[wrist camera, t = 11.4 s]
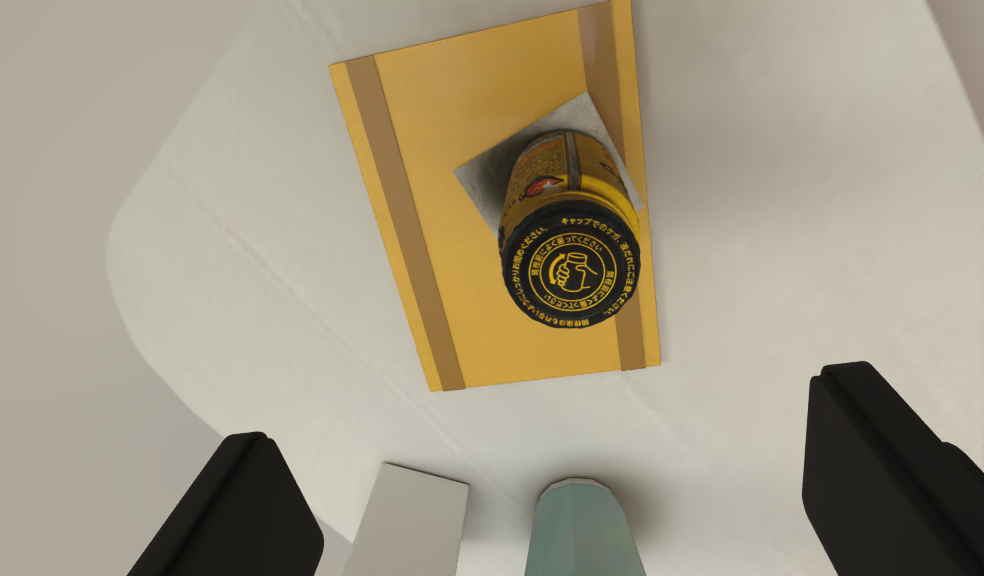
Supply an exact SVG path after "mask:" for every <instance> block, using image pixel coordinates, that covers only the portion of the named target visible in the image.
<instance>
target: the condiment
mask: <svg viewBox="0 0 984 576" xmlns="http://www.w3.org/2000/svg"><path fill="white" fill-rule="evenodd" d="M453 173H454V175H455V176H456V178H457V179H458V181H459V182H460V183H461V185H462V186H463V188H464V189H465V191H466V192H467V194H468V195H469V197H470V198H471V200H472V202H473V203H474V205H475V206H476V208H477V209H478V211H479V212H480V214H481V215H482V217H483V219H484V220H485V222H486V223H487V225H488V227H489V228H490V229H491V230H492V232H493V234H494V236H495V238H496V239H497V241H498V248H499V255H500V257H501V266H502V275H503V279H504V283H505V286H506V287H507V290H508V292H509V295H510V296H511V298H512V299H513V301H514V302H515V304H516V305H517V306H518V307H519V308H520V310H521V311H522V312H524V313H525V314H526V315H527V316H528V317H530V318H531V319H532V320H535V321H537V322H540V323H542V324H544V325H547V326H549V327H552V328H567V329H573V328H578V329H582V328H586V327H590V326H593V325H595V324H598V323H601V322H603V321H605V320H606V319H608V318H610V317H612V316H613V315H615V314H617V313H618V312H619V311H620V309H621V308H622V306H623V305H624V304H625V303H626V302H627V301H628V300H629V299H630V298H631V297H632V296H633V294H634V292H635V290H636V287H637V283H638V279H639V274H640V269H641V261H640V253H641V251H640V236H641V232H640V226H639V219H638V218H637V216H636V211H638V210H640V209H643V208H645V206H644V204H643V202H642V200H641V198H640V196H639V194H638V192H637V190H636V188H635V186H634V184H633V182H632V180H631V178H630V176H629V174H628V172H627V170H626V168H625V166H624V164H623V162H622V160H621V158H620V156H619V154H618V152H617V150H616V148H615V146H614V144H613V142H612V140H611V138H610V136H609V134H608V132H607V130H606V128H605V126H604V124H603V122H602V120H601V119H600V117H599V114H598V113H597V110H596V108H595V106H594V104H593V103H592V101H591V99H590V97H589V95H588V93H587V91H586V92H585V93H583V94H581V95H580V96H578V97H576V98H574V99H573V100H571V101H569V102H568V103H566V104H564V105H562V106H561V107H559V108H557V109H556V110H554V111H552V112H551V113H549V114H548V115H546V116H544V117H542V118H541V119H539V120H537V121H535V122H534V123H532V124H531V125H529V126H527V127H525V128H524V129H522V130H521V131H519V132H517V133H515V134H514V135H512V136H511V137H509V138H508V139H506V140H504V141H503V142H501V143H499V144H497V145H496V146H494V147H492V148H491V149H489V150H487V151H486V152H484V153H482V154H480V155H479V156H477V157H476V158H474V159H473V160H471V161H469V162H468V163H466V164H464V165H463V166H461V167H459V168H457V169H456V170H454V171H453Z"/></svg>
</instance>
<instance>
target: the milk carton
mask: <svg viewBox="0 0 984 576" xmlns="http://www.w3.org/2000/svg"><path fill="white" fill-rule="evenodd" d="M468 492H469V486H468V485H466V484H463V483H459V482H456V481H452V480H448V479H444V478H440V477H436V476H433V475H429V474H425V473H421V472H417V471H413V470H410V469H406V468H402V467H398V466H394V465H390V464H386V463H383V464H382V465H381V467H380V470H379V473H378V476H377V479H376V481H375V484H374V487H373V490H372V492H371V495H370V498H369V501H368V504H367V506H366V509H365V512H364V515H363V517H362V520H361V523H360V526H359V528H358V531H357V534H356V537H355V540H354V542H353V545H352V548H351V551H350V554H349V556H348V559H347V562H346V565H345V568H344V570H343V573H342V576H455V575H456V568H457V562H458V556H459V549H460V543H461V537H462V530H463V524H464V518H465V511H466V505H467V499H468Z"/></svg>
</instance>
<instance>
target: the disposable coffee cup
mask: <svg viewBox="0 0 984 576" xmlns="http://www.w3.org/2000/svg"><path fill="white" fill-rule="evenodd" d="M524 576H646V573H645V570H644V567H643V564H642V562H641V559H640V556H639V553H638V550H637V548H636V545H635V542H634V539H633V536H632V534H631V531H630V528H629V525H628V522H627V520H626V517H625V514H624V511H623V509H622V507H621V505H620V504H619V502H618V501H617V499H616V497H615V496H614V494H612V492H611V491H610V489H609V488H608V487H606V486H604V485H602V484H600V483H598V482H596V481H594V480H592V479H579V478H569V479H566V480H563V481H560V482H557V483H554V484H551V485H550V487H549V488H548V489H547V490H546V491H545V492H544V493H543V494H542V495H541V496H540V500H539V501H538V502H537V503H536V509H535V515H534V521H533V527H532V533H531V539H530V545H529V551H528V557H527V563H526V569H525V575H524Z"/></svg>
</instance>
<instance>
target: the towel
mask: <svg viewBox="0 0 984 576" xmlns="http://www.w3.org/2000/svg"><path fill="white" fill-rule="evenodd" d="M328 67H329V70H330V73H331V77H332V80H333V83H334V86H335V89H336V93H337V96H338V99H339V102H340V105H341V108H342V112H343V115H344V118H345V121H346V124H347V128H348V131H349V134H350V137H351V140H352V144H353V147H354V150H355V153H356V156H357V160H358V163H359V166H360V169H361V172H362V176H363V179H364V182H365V185H366V188H367V191H368V195H369V198H370V201H371V204H372V207H373V211H374V214H375V217H376V220H377V223H378V227H379V230H380V233H381V236H382V239H383V243H384V246H385V249H386V252H387V255H388V259H389V262H390V265H391V268H392V271H393V274H394V278H395V281H396V284H397V287H398V290H399V294H400V297H401V300H402V303H403V306H404V310H405V313H406V316H407V319H408V322H409V326H410V329H411V332H412V335H413V338H414V342H415V345H416V348H417V351H418V354H419V357H420V361H421V364H422V367H423V370H424V373H425V377H426V380H427V383H428V386H429V389H430V392H434V391H452V390H461V389H465V388H469V387H478V386H486V385H495V384H503V383H512V382H521V381H529V380H538V379H547V378H555V377H564V376H573V375H581V374H590V373H598V372H607V371H616V370H621V371H625V370H634V369H643V368H646V367H650V366H659V365H661V359H660V347H659V335H658V323H657V311H656V299H655V287H654V275H653V263H652V250H651V238H650V226H649V214H648V202H647V190H646V178H645V166H644V154H643V142H642V130H641V118H640V106H639V93H638V81H637V69H636V57H635V45H634V33H633V21H632V9H631V0H613V1H608V2H604V3H600V4H595V5H591V6H586V7H582V8H578V9H573V10H569V11H564V12H560V13H556V14H551V15H547V16H543V17H538V18H534V19H529V20H525V21H521V22H516V23H512V24H507V25H503V26H499V27H494V28H490V29H486V30H481V31H477V32H472V33H468V34H464V35H459V36H455V37H450V38H446V39H442V40H437V41H433V42H429V43H424V44H420V45H415V46H411V47H407V48H402V49H398V50H393V51H389V52H385V53H380V54H376V55H372V56H367V57H363V58H358V59H354V60H350V61H345V62H341V63H336V64H332V65H329V66H328ZM586 91H587V93H588V95H589V97H590V99H591V101H592V103H593V104H594V106H595V108H596V110H597V113H598V114H599V117H600V119H601V120H602V122H603V124H604V126H605V128H606V130H607V132H608V134H609V136H610V138H611V140H612V142H613V144H614V146H615V148H616V150H617V152H618V154H619V156H620V158H621V160H622V162H623V164H624V166H625V168H626V170H627V172H628V174H629V176H630V178H631V180H632V182H633V184H634V186H635V188H636V190H637V192H638V194H639V196H640V198H641V200H642V202H643V204H644V206H645V208H643V209H640V210H638V211H636V216H637V218H638V219H639V226H640V232H641V236H640V251H641V253H640V261H641V269H640V274H639V279H638V283H637V287H636V290H635V292H634V294H633V296H632V297H631V298H630V299H629V300H628V301H627V302H626V303H625V304H624V305H623V306H622V308H621V309H620V311H619V312H618V313H617V314H615V315H613V316H612V317H610V318H608V319H606V320H605V321H603V322H601V323H598V324H595V325H593V326H590V327H586V328H582V329H578V328H573V329H567V328H552V327H549V326H547V325H544V324H542V323H540V322H537V321H535V320H532V319H531V318H530V317H528V316H527V315H526V314H525V313H524V312H522V311H521V310H520V308H519V307H518V306H517V305H516V304H515V302H514V301H513V299H512V298H511V296H510V295H509V292H508V290H507V287H506V286H505V283H504V279H503V275H502V266H501V257H500V255H499V248H498V241H497V239H496V238H495V236H494V234H493V232H492V230H491V229H490V228H489V227H488V225H487V223H486V222H485V220H484V219H483V217H482V215H481V214H480V212H479V211H478V209H477V208H476V206H475V205H474V203H473V202H472V200H471V198H470V197H469V195H468V194H467V192H466V191H465V189H464V188H463V186H462V185H461V183H460V182H459V181H458V179H457V178H456V176H455V175H454V173H453V171H454V170H456V169H457V168H459V167H461V166H463V165H464V164H466V163H468V162H469V161H471V160H473V159H474V158H476V157H477V156H479V155H480V154H482V153H484V152H486V151H487V150H489V149H491V148H492V147H494V146H496V145H497V144H499V143H501V142H503V141H504V140H506V139H508V138H509V137H511V136H512V135H514V134H515V133H517V132H519V131H521V130H522V129H524V128H525V127H527V126H529V125H531V124H532V123H534V122H535V121H537V120H539V119H541V118H542V117H544V116H546V115H548V114H549V113H551V112H552V111H554V110H556V109H557V108H559V107H561V106H562V105H564V104H566V103H568V102H569V101H571V100H573V99H574V98H576V97H578V96H580V95H581V94H583V93H585V92H586Z"/></svg>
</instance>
